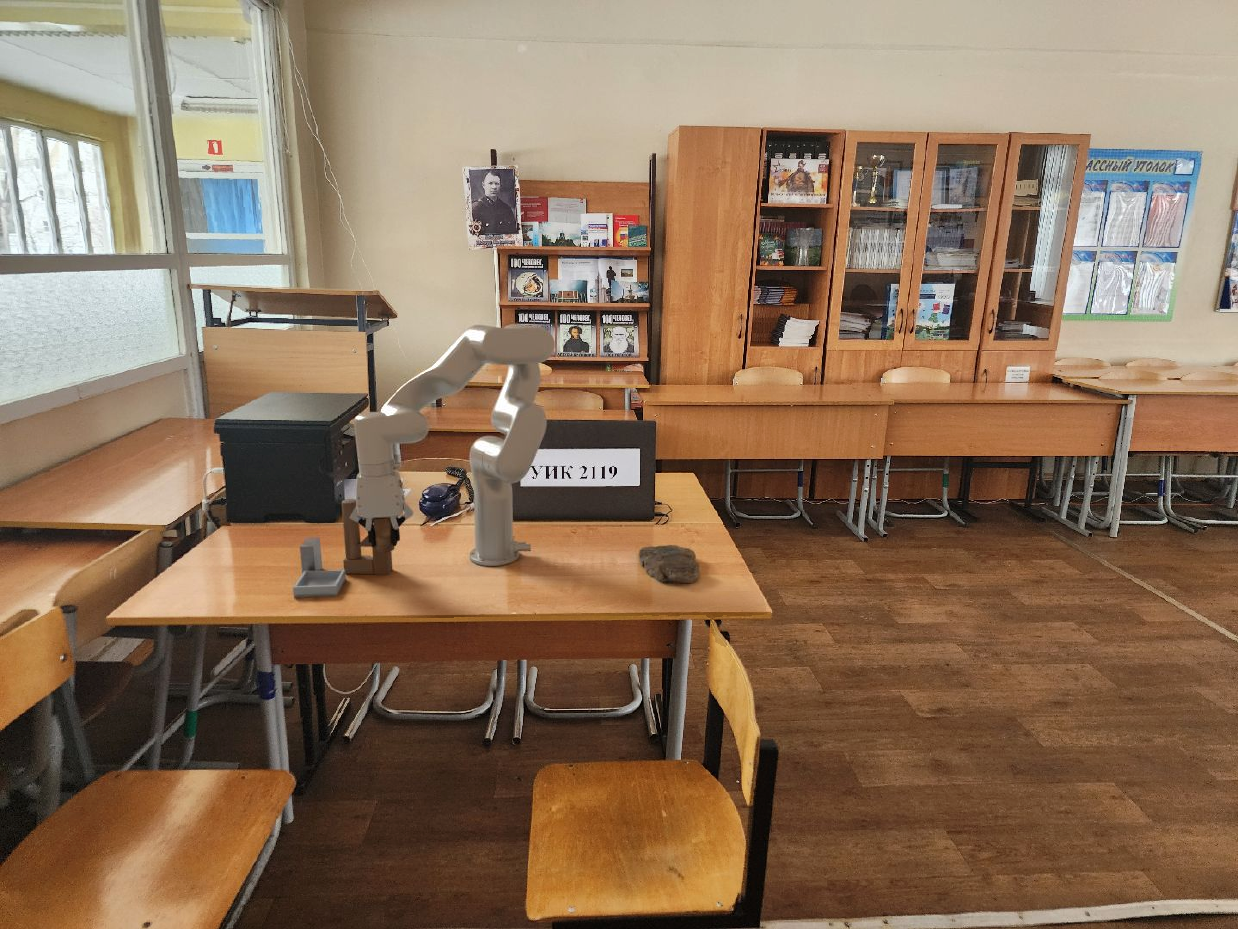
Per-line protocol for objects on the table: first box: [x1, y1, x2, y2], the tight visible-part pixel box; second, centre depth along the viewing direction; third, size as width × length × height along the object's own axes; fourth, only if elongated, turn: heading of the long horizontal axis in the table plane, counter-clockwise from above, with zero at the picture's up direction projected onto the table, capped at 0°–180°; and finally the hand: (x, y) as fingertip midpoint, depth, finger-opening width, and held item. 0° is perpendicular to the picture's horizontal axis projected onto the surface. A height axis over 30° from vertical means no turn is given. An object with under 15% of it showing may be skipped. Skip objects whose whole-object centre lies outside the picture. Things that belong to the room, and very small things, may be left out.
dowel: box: [373, 517, 396, 553], centre depth 171 cm, size 4×4×8 cm
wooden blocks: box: [341, 498, 393, 576], centre depth 179 cm, size 4×11×18 cm, turn 89°
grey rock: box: [637, 544, 701, 584], centre depth 185 cm, size 14×5×20 cm
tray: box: [292, 569, 347, 599], centre depth 171 cm, size 9×9×2 cm
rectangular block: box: [299, 537, 323, 575], centre depth 179 cm, size 3×6×8 cm, turn 8°
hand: (384, 543), depth 171 cm, fingers closed on dowel, 4 cm apart
